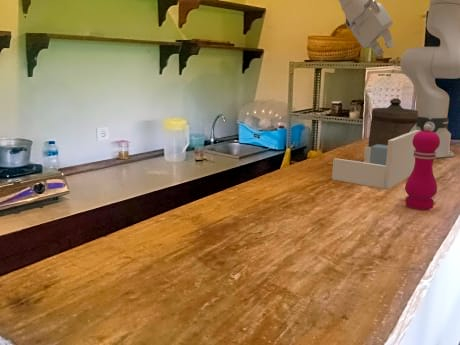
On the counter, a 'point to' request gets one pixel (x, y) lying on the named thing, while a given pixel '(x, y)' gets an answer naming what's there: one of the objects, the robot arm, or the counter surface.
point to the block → (378, 154)
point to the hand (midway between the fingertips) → (386, 50)
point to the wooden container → (391, 123)
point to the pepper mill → (423, 170)
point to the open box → (375, 174)
